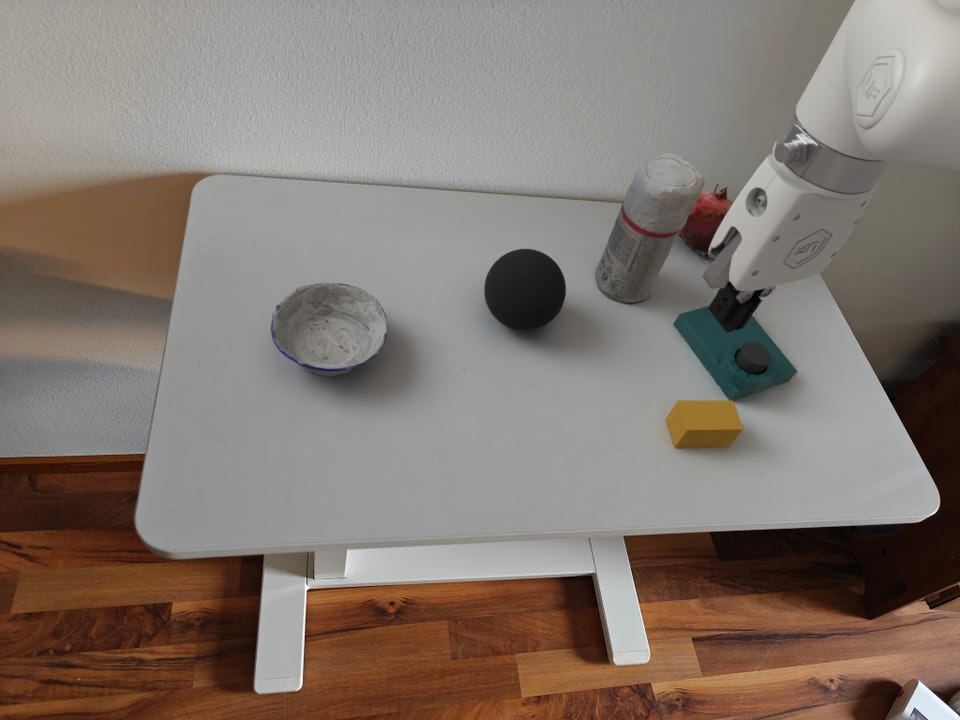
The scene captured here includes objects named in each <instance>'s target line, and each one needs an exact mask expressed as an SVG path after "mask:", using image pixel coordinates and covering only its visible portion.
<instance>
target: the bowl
mask: <svg viewBox="0 0 960 720" xmlns="http://www.w3.org/2000/svg"><path fill="white" fill-rule="evenodd" d="M271 316H272V318H271V319H272V320H271V325H270V333H271V338H272V341H273V344H274V345H275V347H276V348H277V350H278V351H279V352H280V353H281V354H282V355H284V356H285V357H286V358H287V359H289V360H290V361H292V362H293V363H295V364H297V365H299V366H300V367H302V368H303V369H305V370H307V371H309V372H311V373H313V374H316V375H318V376H324V377H335V376H336V377H337V376H341V375H345V374H347V373H350V372H351V371H354V370H355V369H356V368H358V367H360V366H362V365H365V364H366V363H368V362H370V361H371V360H372V359H373V358H375V357H377V356H378V354H379V353H380V351H381V350H382V349H383V347H384V346H385V345H386V342H387V337H388V333H389V322H388V317H387V314H386V311H385V310H384V308H383V306H382V305H381V304H380V302H379V300H377V299H376V297H375V296H373V295H372V294H370V293H369V292H367V291H366V290H364V289H362V288H359V287H358V286H354V285H351V284H346V283H341V282H321V283H313V284H309V285H301V286H299V287H298V288H296V290H294V291H292V292H290V293H289V294H288V295H286V297H285V298H283V299H282V300H281V302H279V304H277V305H276V307H275V310H274V311H273V312H272V313H271Z"/></svg>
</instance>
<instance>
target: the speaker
mask: <svg viewBox="0 0 960 720" xmlns="http://www.w3.org/2000/svg"><path fill="white" fill-rule="evenodd" d="M565 279H566V278H565V275H564V273H563V271H562V269H561V268H560V266H559V264H558V263H557V262H556V261H555V260H554V259H553V258H552V257H551V256H549V255H548V254H546V253H544V252H542V251H540V250H537V249H533V248H519V249H513V250H511V251H508V252H506V253H505V254H502V255H501V256H500V257H499V258H498V259H496V261H494V263H493V264H492V265H491V267H490V269H489V270H488V272H487V274H486V277H485V281H484V285H483V286H484V289H483V292H484V293H483V294H484V299H485V300H484V301H485V303H486V305H487V308H488V310H489V311H490V314H491V315H492V317H494V318H495V320H497V321H498V322H499V323H501V325H503V326H505V327H507V328H510V329H513V330H515V331H521V332H523V331H524V332H526V331H527V332H528V331H534V330H538V329H540V328H543V327H544V326H546V325H548V324H549V323H551V322H552V321H553V320H554V319H555V318H556V317H557V316H558V314H559V313H560V311H562V308H563V306H564V303H565V300H566V296H567V295H566V294H567V285H566V280H565Z"/></svg>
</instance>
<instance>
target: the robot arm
mask: <svg viewBox="0 0 960 720" xmlns="http://www.w3.org/2000/svg"><path fill="white" fill-rule="evenodd" d="M892 164H896V165H901V166H908V167H916V168H923V169H932V170H933V169H934V170H943V171H951V172H960V0H854V1H853V3H852V5H851V7H850V9H849V10H848V12H847V14H846V15H845V18H844V19H843V21H842V23H841V25H840V26H839V29H838V30H837V32H836V34H835V35H834V38H833V39H832V41H831V42H830V44H829V46H828V48H827V50H826V52H825V53H824V55H823V57H822V58H821V61H820V62H819V64H818V66H817V68H816V69H815V72H813V75H812V77H811V79H810V80H809V82H808V84H807V85H806V88H805V89H804V91H803V92H802V95H801V97H800V98H799V100H798V102H797V103H796V105H795V107H794V109H793V110H792V112H791V114H790V116H789V117H788V119H787V120H786V123H785V125H784V126H783V128H782V130H781V132H780V134H779V135H778V137H777V138H776V140H775V143H774V144H773V147H772V153H770V154H768V155H767V156H766V158H765V159H764V160H763V161H762V162H761V164H760V165H759V166H758V168H756V170H755V171H754V173H753V174H752V176H751V177H750V178H749V180H748V181H747V182H746V184H745V185H744V187H743V188H742V189H741V191H740V192H739V194H738V195H737V197H736V198H735V200H734V201H733V202H734V203H733V204H732V206H731V208H730V209H729V211H728V212H727V214H726V216H725V217H724V219H723V221H722V223H721V224H720V226H719V228H718V230H717V231H716V233H715V235H714V237H713V240H712V242H711V244H710V247H709V251H708V255H707V256H708V257H709V258H711V259H714V260H713V261H712V262H711V264H710V265H709V266H708V268H707V269H706V270H704V271H705V272H703V274H702V279H703V281H705V283H706V284H707V285H708V286H709V288H710V289H718V291H717V292H716V294H715V296H714V298H713V299H712V301H711V302H710V304H709V305H708V306H709V310H710V312H711V313H712V315H713V316H714V317H715V318H716V320H717V321H718V322H719V324H720V325H721V326H722V327H723V329H724V330H725V331H726V332H727V333H729V332H732V331H734V330H740V329H743V328H744V326H745V325H746V323H747V322H748V320H749V319H750V318H751V316H753V315H754V314H755V312H756V310H757V309H758V307H759V306H760V305H761V303H762V302H763V301H762V299H764V298H767V297H768V296H770V295H771V294H772V293H773V291H774V290H775V289H776V288H777V287H778V286H781V285H785V284H788V283H793V282H797V281H801V280H805V279H809V278H811V277H815V276H817V275H819V274H821V273H822V272H824V271H825V270H826V269H827V268H828V267H829V266H830V264H831V263H832V262H833V260H834V259H835V258H836V256H837V255H838V253H839V252H840V250H841V249H842V248H843V246H844V244H845V243H846V242H847V240H848V239H849V238H850V236H851V234H852V232H853V231H854V229H855V228H856V226H857V225H858V222H859V221H860V219H861V217H862V216H863V214H864V213H865V211H866V209H867V207H868V206H869V204H870V202H871V200H872V198H873V197H874V194H875V192H876V189H877V187H878V185H879V182H880V180H881V178H882V177H883V176H884V174H885V173H886V171H887V170H888V168H889V167H890V166H891V165H892ZM761 298H762V299H761Z"/></svg>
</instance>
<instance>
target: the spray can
mask: <svg viewBox="0 0 960 720" xmlns="http://www.w3.org/2000/svg"><path fill="white" fill-rule="evenodd" d="M704 186H705V178H704V176H703V175H702V174H701V172H700V170H699V169H698V168H697V166H696V165H695V164H692V163H691V162H690V161H687V160H686V159H685V158H684V157H683V155H681V154H679V153H671V152H666V153H663V154H660V155H658V156H656V157H655V158H653V159H651V160H649V161H647V162H646V163H644V164H643V165H641V166H640V167H639V168H638V169H637V170H636V172H635V173H634V176H633V179H632V181H631V183H630V185H629V186H628V189H627V191H626V194H625V196H624V199H623V200H622V201H623V202H622V204H621V207H620V209H619V212H618V214H617V217H616V219H615V221H614V225H613V227H612V229H611V232H610V235H609V237H608V240H607V242H606V245H605V247H604V250H603V252H602V255H601V258H600V260H599V263H598V265H597V266H596V269H595V272H594V273H595V280H596V284H597V287H598V289H599V290H600V291H601V292H602V293H603V294H604V295H605V296H607V297H608V298H609V299H612V300H613V301H617V302H620V303H624V304H627V303H628V304H636V303H640V302H643V301H646V300H647V299H649V297H650V296H651V295H652V288H653V286H654V284H655V283H656V281H657V279H658V276H659V274H660V273H661V270H662V268H663V266H664V264H665V262H666V260H667V258H668V256H670V255H669V254H670V252H671V251H672V248H673V246H674V244H675V243H676V241H677V238H678V237H679V233H680V230H681V229H682V228H683V227H684V225H685V224H686V222H687V218H688V215H689V213H690V211H691V209H692V208H693V207H694V206H695V204H696V202H697V200H698V197H699V195H700V193H701V192H703V188H704Z"/></svg>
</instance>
